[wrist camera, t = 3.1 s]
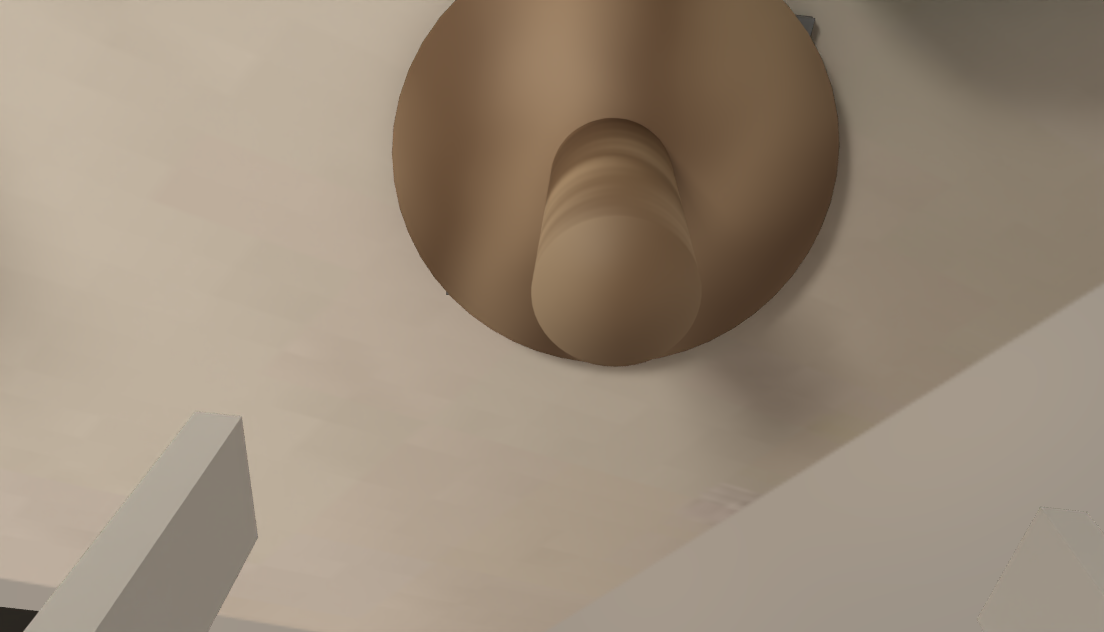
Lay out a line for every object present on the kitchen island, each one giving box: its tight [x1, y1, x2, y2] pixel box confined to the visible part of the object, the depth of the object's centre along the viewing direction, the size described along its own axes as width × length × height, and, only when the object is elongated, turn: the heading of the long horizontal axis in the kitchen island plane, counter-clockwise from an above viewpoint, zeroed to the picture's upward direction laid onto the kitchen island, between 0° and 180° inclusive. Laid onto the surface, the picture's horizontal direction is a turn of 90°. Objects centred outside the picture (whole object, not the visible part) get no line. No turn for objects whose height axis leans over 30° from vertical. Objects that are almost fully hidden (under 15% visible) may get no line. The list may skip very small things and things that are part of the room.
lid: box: [392, 0, 839, 367], centre depth 24 cm, size 16×16×10 cm
